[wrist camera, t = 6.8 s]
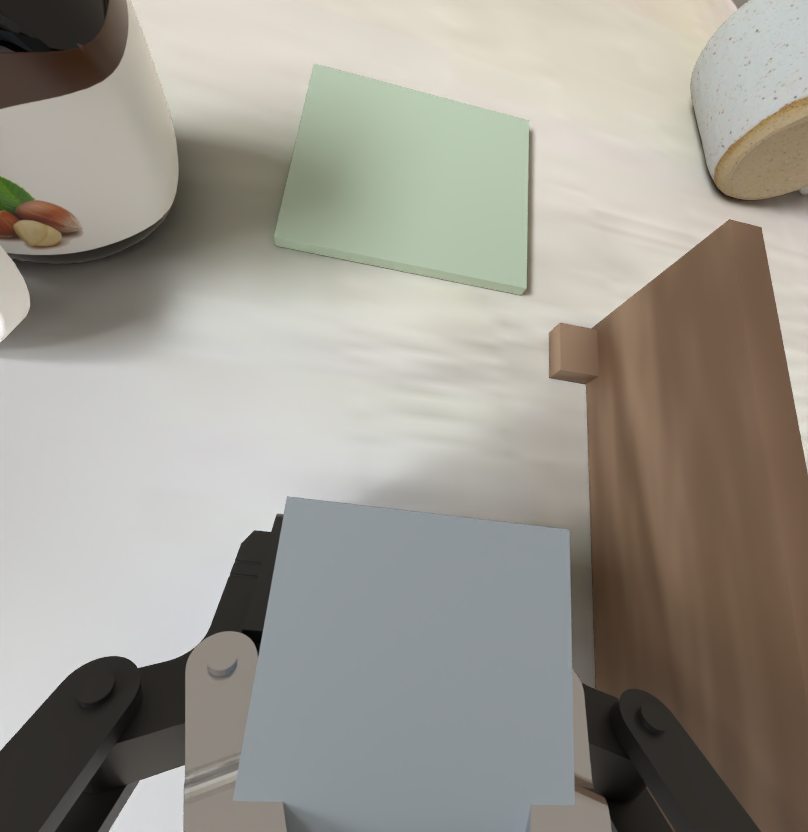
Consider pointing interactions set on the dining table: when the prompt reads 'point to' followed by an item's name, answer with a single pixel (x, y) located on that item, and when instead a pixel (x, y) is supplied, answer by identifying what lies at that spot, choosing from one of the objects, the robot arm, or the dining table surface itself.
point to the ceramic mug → (756, 100)
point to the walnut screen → (702, 515)
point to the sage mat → (408, 183)
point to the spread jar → (77, 138)
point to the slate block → (412, 673)
